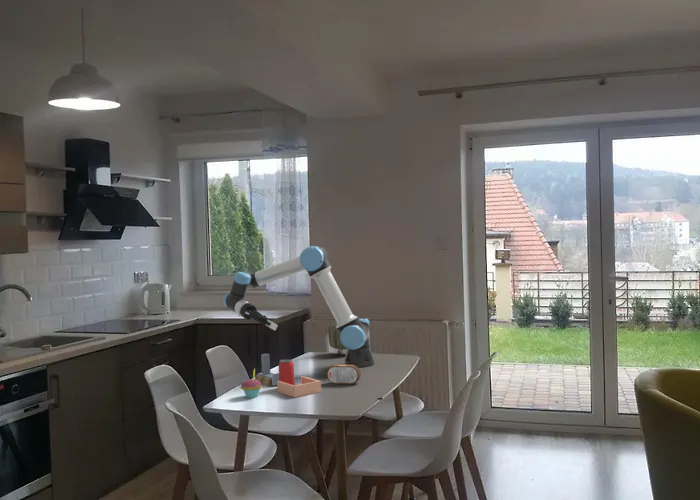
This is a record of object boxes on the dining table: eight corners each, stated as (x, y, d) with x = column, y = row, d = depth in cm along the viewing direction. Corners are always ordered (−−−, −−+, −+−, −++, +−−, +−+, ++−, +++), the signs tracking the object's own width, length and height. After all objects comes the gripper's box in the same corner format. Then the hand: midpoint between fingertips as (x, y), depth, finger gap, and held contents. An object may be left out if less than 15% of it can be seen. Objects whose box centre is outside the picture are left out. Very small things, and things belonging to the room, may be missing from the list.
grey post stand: (256, 379, 292) (254, 354, 292) (268, 377, 296) (267, 352, 296) (273, 385, 279) (272, 358, 279) (286, 383, 283) (284, 356, 283)
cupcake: (265, 394, 266) (264, 365, 266) (256, 399, 258) (254, 370, 258) (247, 393, 269) (246, 365, 268) (237, 398, 261) (236, 369, 260)
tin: (361, 383, 279) (360, 364, 279) (359, 384, 276) (358, 365, 276) (328, 382, 283) (327, 363, 283) (326, 384, 280) (325, 365, 280)
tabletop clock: (358, 354, 348) (356, 308, 348) (348, 357, 341) (346, 310, 341) (338, 352, 357) (336, 308, 357) (328, 355, 350) (326, 309, 350)
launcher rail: (255, 381, 292) (254, 374, 292) (269, 378, 296) (269, 372, 296) (270, 386, 281) (269, 379, 281) (284, 383, 285) (284, 376, 285)
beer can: (288, 390, 271) (287, 362, 271) (276, 389, 275) (275, 361, 275) (297, 386, 277) (296, 359, 277) (285, 385, 280) (284, 358, 280)
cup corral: (277, 391, 270) (276, 381, 270) (303, 386, 277) (303, 376, 277) (294, 397, 258) (294, 386, 258) (321, 391, 266) (320, 381, 266)
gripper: (252, 319, 314) (282, 337, 299) (232, 314, 305) (262, 332, 289) (258, 305, 315) (288, 322, 299) (239, 299, 305) (269, 317, 289)
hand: (275, 327), depth 294 cm, fingers closed
